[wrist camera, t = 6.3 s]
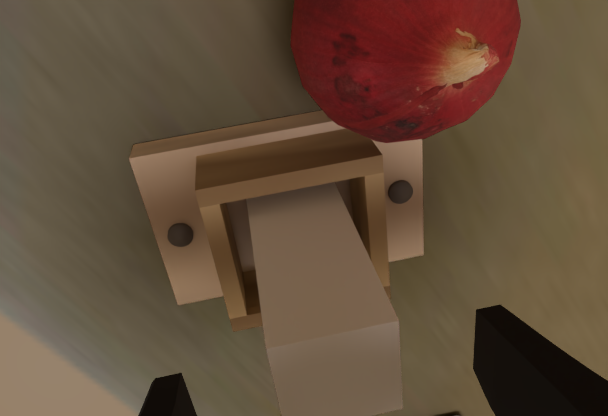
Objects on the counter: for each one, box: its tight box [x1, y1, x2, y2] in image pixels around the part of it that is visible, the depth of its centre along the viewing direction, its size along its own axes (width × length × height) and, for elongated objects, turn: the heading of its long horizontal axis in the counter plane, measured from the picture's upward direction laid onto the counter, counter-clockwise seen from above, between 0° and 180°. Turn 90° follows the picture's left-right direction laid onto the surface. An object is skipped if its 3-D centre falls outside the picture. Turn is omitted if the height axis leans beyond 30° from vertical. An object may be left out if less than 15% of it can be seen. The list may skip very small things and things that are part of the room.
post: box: [246, 182, 403, 416], centre depth 16 cm, size 3×3×8 cm
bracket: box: [129, 110, 424, 332], centre depth 18 cm, size 6×10×4 cm, turn 98°
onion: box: [291, 0, 521, 143], centre depth 14 cm, size 6×6×8 cm
